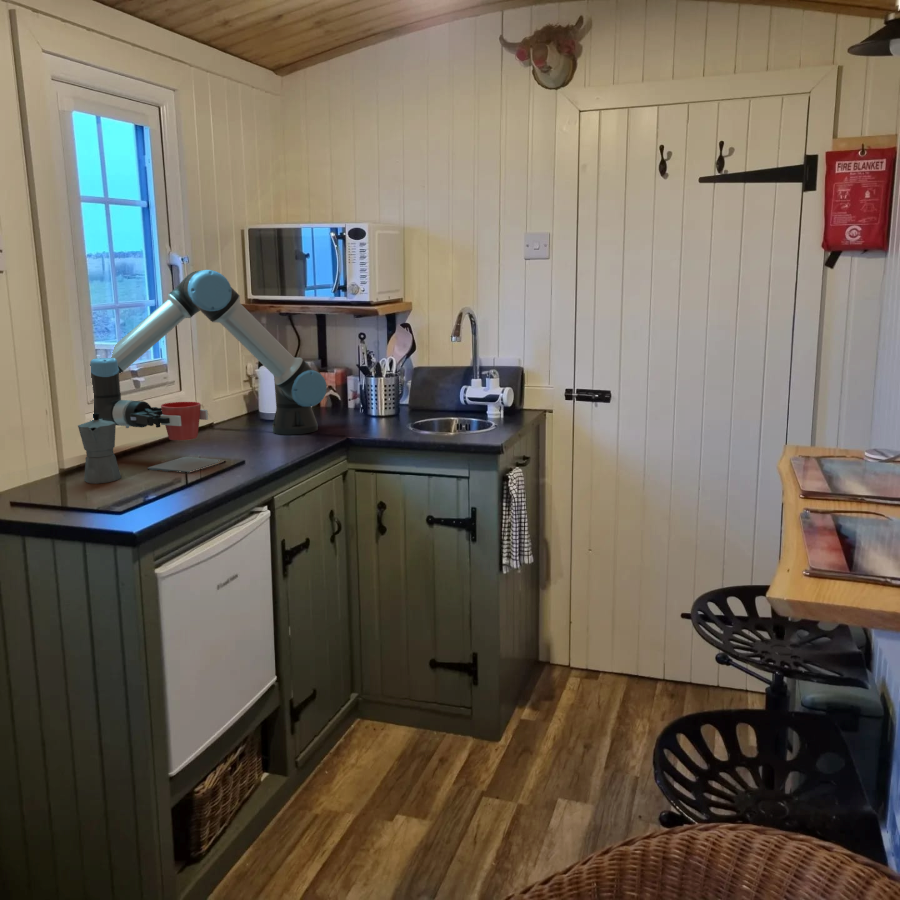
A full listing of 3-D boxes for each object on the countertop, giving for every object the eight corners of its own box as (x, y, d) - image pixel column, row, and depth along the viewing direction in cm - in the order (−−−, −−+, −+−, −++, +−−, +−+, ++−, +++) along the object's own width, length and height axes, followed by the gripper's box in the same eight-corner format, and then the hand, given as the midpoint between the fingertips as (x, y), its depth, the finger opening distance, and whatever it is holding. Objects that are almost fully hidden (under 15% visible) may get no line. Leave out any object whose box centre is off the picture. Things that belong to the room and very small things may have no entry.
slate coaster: (185, 458, 258) (185, 456, 258) (225, 462, 252) (225, 460, 252) (147, 469, 245) (147, 467, 245) (189, 473, 239) (189, 471, 238)
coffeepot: (118, 483, 229) (111, 415, 225) (79, 486, 227) (71, 418, 223) (125, 471, 244) (119, 406, 240) (89, 473, 242) (82, 409, 238)
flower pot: (211, 435, 250) (208, 401, 248) (187, 442, 240) (185, 407, 238) (179, 434, 253) (176, 400, 251) (155, 441, 243) (152, 406, 241)
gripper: (163, 420, 264) (221, 424, 254) (104, 433, 244) (165, 438, 234) (160, 395, 262) (219, 398, 253) (101, 406, 242) (163, 410, 233)
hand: (193, 417), depth 244 cm, fingers closed on flower pot, 10 cm apart
